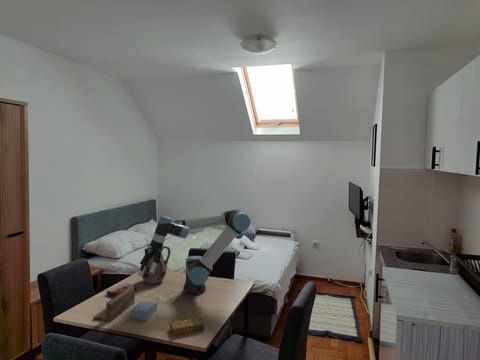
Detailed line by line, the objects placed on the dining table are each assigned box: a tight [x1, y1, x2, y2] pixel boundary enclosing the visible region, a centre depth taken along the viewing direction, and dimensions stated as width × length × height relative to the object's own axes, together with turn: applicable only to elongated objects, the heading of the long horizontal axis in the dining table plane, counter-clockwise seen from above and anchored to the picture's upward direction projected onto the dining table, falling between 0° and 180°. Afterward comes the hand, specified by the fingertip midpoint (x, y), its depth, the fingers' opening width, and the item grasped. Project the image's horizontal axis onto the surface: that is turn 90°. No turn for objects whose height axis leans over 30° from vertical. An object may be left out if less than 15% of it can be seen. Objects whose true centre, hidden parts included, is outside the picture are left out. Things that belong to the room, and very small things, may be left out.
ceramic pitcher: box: [141, 245, 171, 285], centre depth 237 cm, size 18×21×25 cm
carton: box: [169, 316, 205, 338], centre depth 169 cm, size 8×16×4 cm, turn 113°
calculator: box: [106, 282, 137, 298], centre depth 216 cm, size 11×4×15 cm
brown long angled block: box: [93, 287, 135, 323], centre depth 190 cm, size 11×24×10 cm, turn 168°
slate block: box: [130, 300, 158, 321], centre depth 186 cm, size 10×12×5 cm
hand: (145, 274), depth 198 cm, fingers open, 13 cm apart
